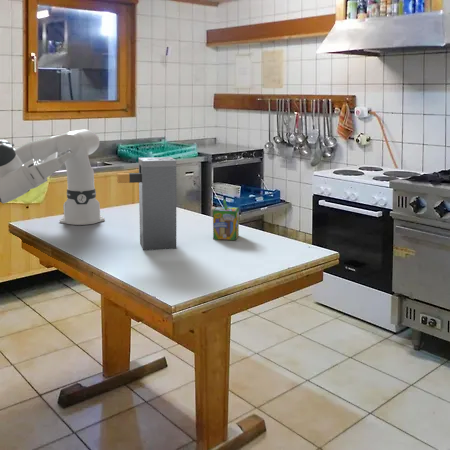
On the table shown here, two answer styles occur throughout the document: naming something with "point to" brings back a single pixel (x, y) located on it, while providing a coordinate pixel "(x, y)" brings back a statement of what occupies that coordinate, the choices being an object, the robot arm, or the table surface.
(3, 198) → the robot arm
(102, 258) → the table surface
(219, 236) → the chalk box
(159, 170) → the housing
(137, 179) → the plug rod
